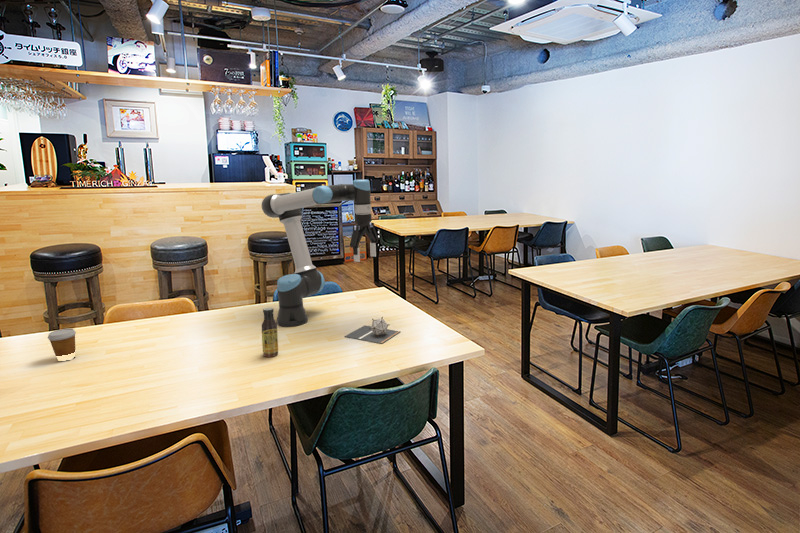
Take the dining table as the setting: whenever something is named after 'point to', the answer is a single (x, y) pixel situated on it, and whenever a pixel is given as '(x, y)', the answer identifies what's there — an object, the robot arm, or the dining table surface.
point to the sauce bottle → (269, 334)
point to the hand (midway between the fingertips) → (365, 259)
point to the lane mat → (371, 335)
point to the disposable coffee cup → (63, 341)
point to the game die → (379, 326)
